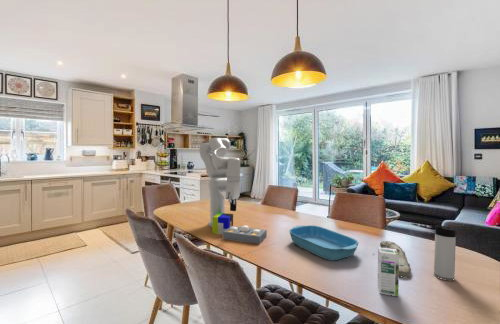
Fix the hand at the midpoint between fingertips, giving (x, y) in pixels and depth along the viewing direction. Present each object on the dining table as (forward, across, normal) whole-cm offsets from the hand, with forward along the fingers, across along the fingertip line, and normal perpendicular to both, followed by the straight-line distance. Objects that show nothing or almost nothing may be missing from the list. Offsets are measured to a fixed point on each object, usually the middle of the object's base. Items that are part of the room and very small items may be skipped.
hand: (233, 210), depth 142 cm
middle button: (+12, +1, +8) cm, 14 cm away
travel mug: (+12, +14, +97) cm, 99 cm away
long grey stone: (+13, +3, +82) cm, 83 cm away
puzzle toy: (+15, -5, -9) cm, 19 cm away
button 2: (+13, +1, +15) cm, 20 cm away
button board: (+15, +1, +8) cm, 17 cm away
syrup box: (+12, +33, +75) cm, 83 cm away
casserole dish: (+14, +1, +50) cm, 52 cm away
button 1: (+13, +1, +1) cm, 13 cm away
